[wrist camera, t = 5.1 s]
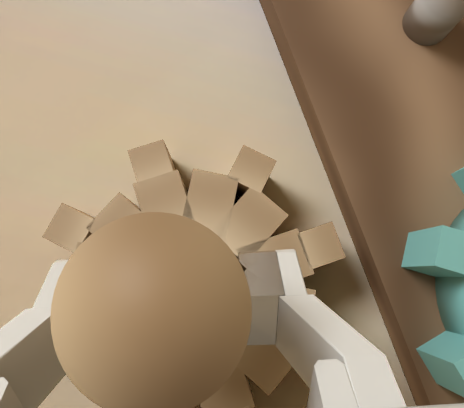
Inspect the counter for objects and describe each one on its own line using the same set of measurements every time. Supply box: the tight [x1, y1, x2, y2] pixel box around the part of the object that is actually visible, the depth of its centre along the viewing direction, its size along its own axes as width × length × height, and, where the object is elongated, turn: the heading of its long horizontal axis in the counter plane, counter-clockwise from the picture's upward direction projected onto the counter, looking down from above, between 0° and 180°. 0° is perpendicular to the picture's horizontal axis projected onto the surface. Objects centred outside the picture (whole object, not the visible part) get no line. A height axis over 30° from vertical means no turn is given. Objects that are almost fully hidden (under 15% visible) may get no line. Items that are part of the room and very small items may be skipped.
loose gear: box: [42, 140, 346, 408], centre depth 12 cm, size 11×11×10 cm
